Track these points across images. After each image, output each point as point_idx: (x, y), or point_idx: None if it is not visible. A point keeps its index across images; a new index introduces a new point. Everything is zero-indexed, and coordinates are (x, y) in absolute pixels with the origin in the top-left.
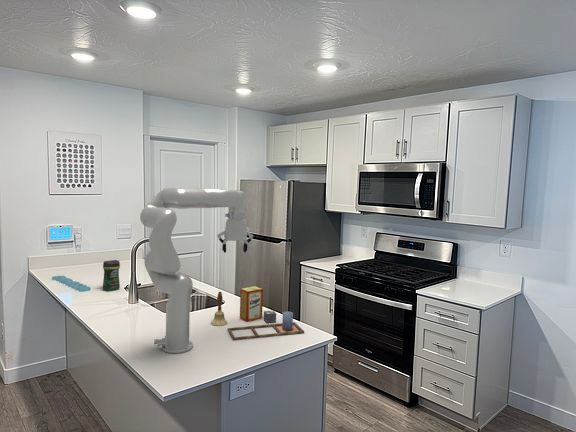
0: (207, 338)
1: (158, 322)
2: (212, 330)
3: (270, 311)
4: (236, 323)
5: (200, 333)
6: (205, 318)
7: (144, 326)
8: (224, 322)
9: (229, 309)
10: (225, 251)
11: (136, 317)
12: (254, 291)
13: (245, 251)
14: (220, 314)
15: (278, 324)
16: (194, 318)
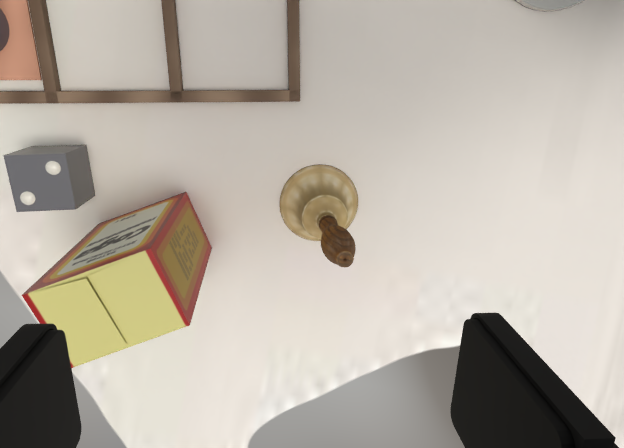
0: (408, 16)
1: (557, 264)
2: (366, 116)
3: (35, 195)
4: (239, 183)
5: (425, 90)
6: (366, 275)
7: (615, 229)
8: (299, 181)
9: (239, 371)
10: (489, 320)
11: (619, 334)
12: (95, 265)
13: (31, 332)
14: (324, 195)
15: (19, 91)
16: (411, 284)
